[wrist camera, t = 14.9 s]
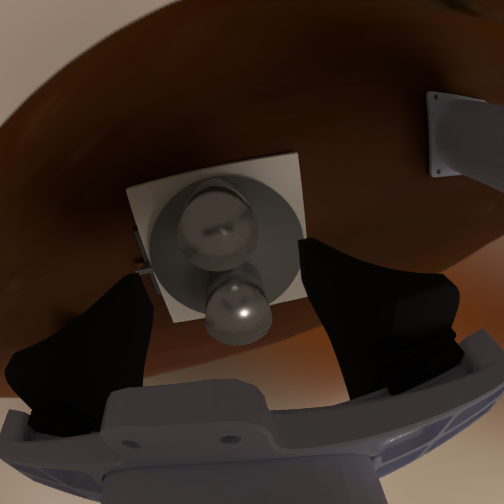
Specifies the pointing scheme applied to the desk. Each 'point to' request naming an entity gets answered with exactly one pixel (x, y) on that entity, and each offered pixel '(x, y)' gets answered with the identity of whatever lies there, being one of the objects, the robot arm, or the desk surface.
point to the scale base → (162, 190)
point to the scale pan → (263, 258)
